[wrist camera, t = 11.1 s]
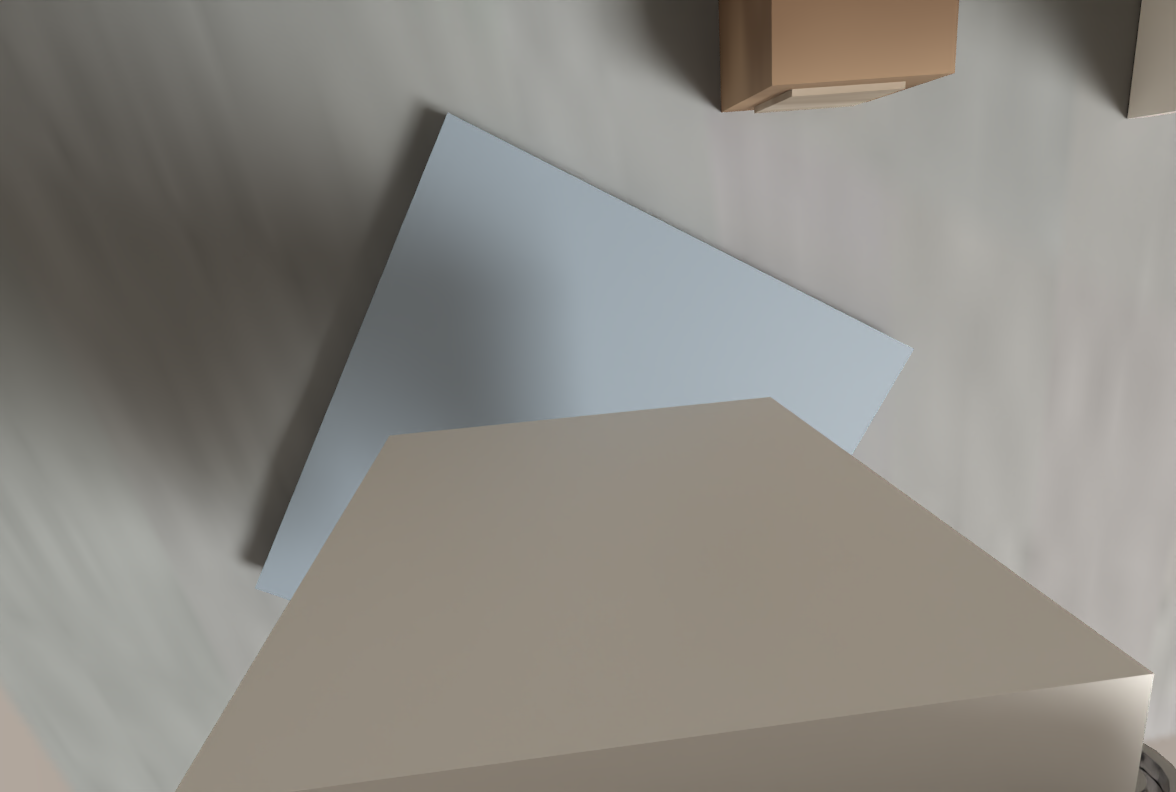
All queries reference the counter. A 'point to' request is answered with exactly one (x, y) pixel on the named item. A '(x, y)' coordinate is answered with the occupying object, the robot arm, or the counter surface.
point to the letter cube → (830, 51)
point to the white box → (666, 629)
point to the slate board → (562, 328)
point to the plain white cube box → (1154, 61)
